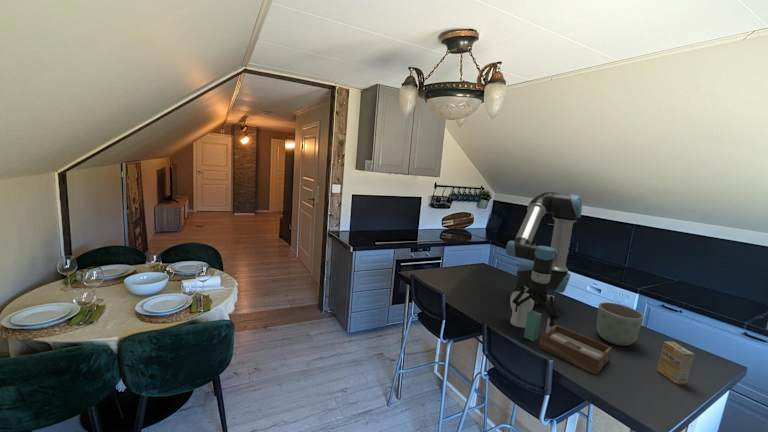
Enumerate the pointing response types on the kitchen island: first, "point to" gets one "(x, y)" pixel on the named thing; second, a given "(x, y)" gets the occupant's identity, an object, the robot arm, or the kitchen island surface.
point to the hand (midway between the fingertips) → (532, 325)
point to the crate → (576, 348)
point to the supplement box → (675, 362)
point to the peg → (532, 325)
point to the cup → (526, 308)
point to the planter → (618, 323)
